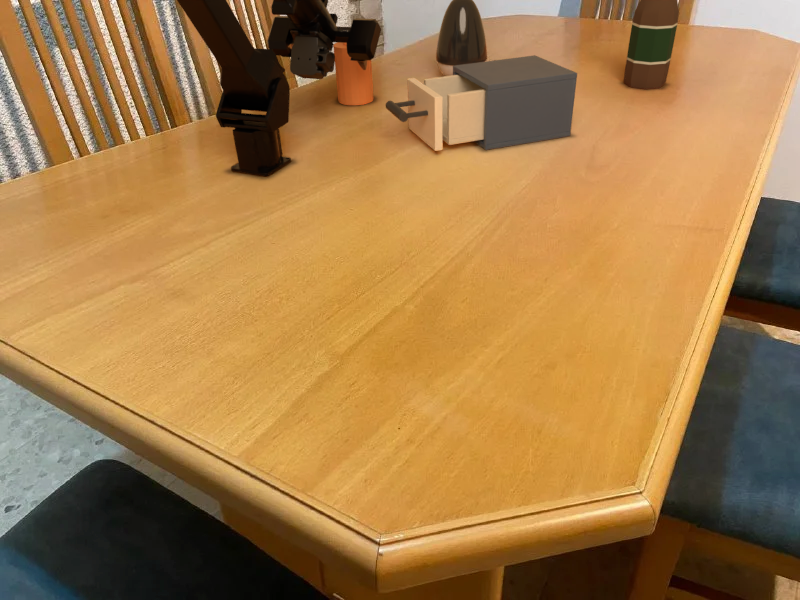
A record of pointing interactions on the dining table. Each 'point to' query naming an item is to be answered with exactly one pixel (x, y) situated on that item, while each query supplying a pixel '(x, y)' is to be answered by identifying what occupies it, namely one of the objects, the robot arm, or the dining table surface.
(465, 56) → the dark brown rounded piece
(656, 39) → the beer bottle
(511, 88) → the cabinet
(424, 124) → the drawer
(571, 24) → the dining table surface
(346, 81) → the detergent bottle
